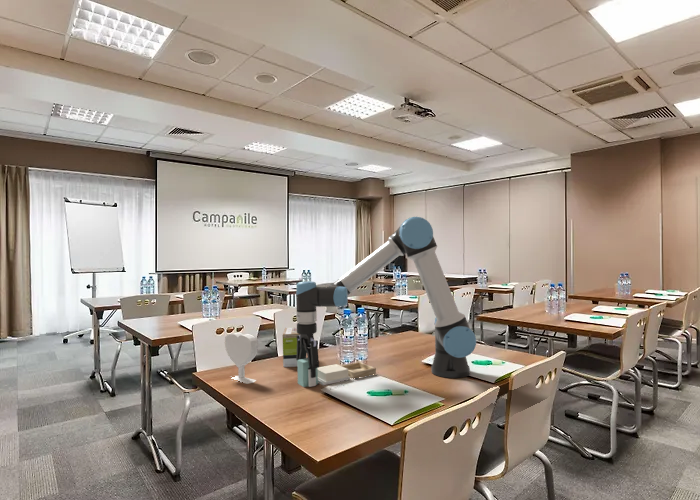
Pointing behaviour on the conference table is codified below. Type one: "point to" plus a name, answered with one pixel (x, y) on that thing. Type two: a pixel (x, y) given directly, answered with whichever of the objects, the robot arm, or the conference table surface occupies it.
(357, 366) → the tray
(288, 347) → the tea box
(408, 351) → the conference table surface
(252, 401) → the conference table surface
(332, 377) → the cream rectangular box
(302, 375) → the teal block
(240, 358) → the heart sculpture
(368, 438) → the conference table surface
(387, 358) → the conference table surface
